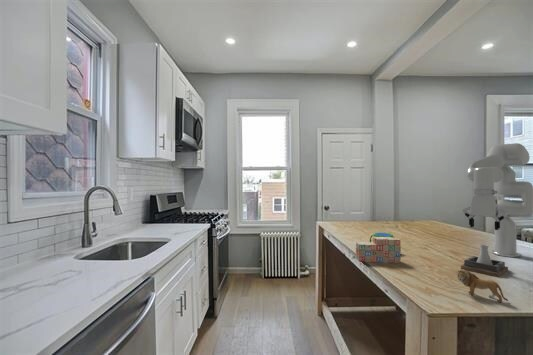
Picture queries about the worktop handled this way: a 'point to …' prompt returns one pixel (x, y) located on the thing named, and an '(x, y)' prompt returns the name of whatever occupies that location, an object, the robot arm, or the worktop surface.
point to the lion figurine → (479, 284)
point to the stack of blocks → (379, 250)
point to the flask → (484, 256)
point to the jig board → (484, 267)
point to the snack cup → (381, 235)
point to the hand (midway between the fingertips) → (484, 228)
